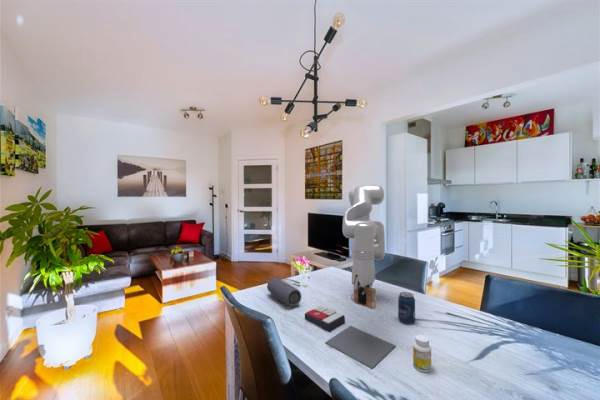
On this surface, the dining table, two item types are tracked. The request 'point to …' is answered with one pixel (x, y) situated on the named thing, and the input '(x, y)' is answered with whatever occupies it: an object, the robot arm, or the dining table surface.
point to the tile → (367, 297)
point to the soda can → (406, 308)
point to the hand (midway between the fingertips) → (364, 301)
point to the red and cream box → (325, 318)
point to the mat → (361, 346)
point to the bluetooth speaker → (284, 292)
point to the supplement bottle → (422, 353)
